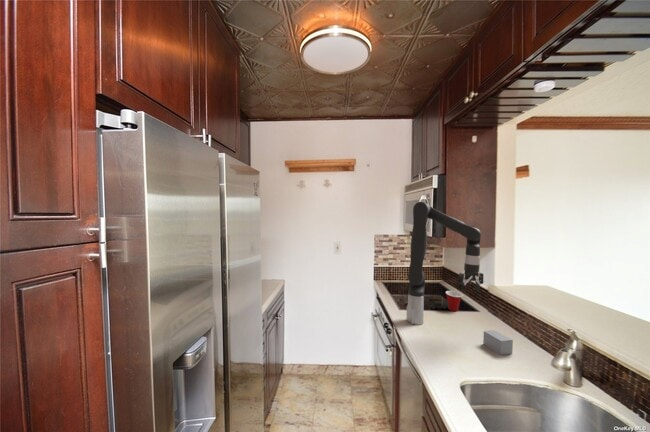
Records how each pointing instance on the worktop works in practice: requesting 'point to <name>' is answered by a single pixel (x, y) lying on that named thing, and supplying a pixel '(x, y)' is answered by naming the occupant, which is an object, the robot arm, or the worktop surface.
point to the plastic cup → (453, 300)
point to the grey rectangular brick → (498, 342)
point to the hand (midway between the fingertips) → (470, 291)
